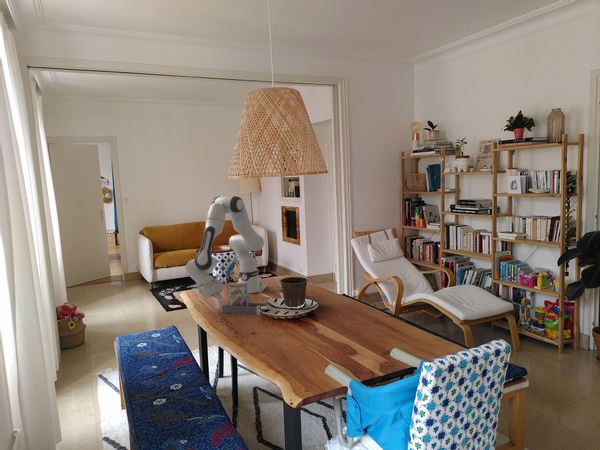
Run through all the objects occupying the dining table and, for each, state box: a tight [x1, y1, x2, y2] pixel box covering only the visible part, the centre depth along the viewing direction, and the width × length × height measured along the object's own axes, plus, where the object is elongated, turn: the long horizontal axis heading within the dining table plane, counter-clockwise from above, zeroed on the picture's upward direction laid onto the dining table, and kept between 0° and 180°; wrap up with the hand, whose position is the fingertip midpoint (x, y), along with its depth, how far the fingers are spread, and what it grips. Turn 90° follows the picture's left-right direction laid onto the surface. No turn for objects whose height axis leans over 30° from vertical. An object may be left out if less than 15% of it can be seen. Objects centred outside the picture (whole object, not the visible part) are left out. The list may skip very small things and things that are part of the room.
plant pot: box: [279, 276, 309, 307], centre depth 264 cm, size 16×16×16 cm
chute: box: [221, 300, 269, 316], centre depth 260 cm, size 12×24×5 cm, turn 70°
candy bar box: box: [226, 282, 249, 307], centre depth 261 cm, size 11×5×16 cm, turn 84°
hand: (221, 299), depth 265 cm, fingers closed
